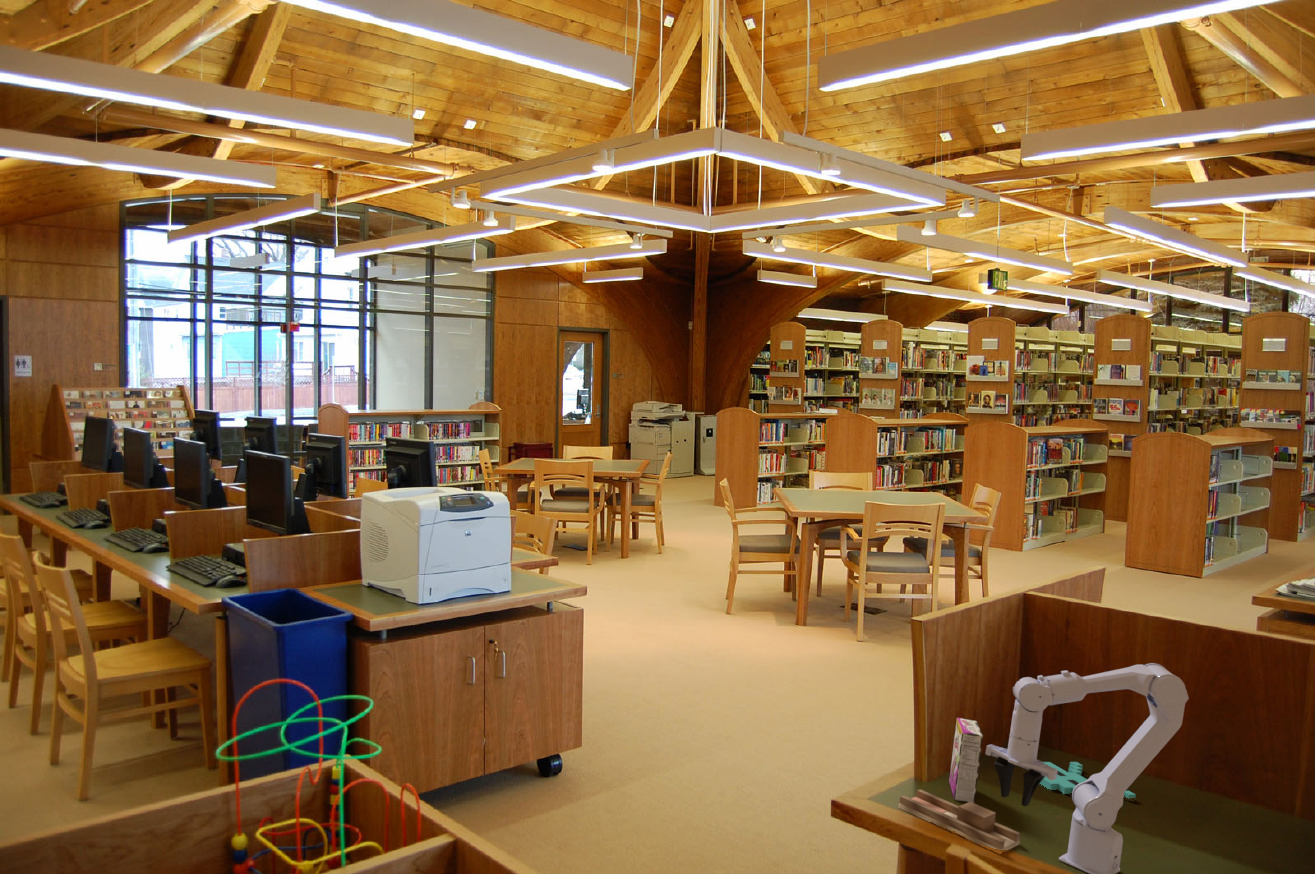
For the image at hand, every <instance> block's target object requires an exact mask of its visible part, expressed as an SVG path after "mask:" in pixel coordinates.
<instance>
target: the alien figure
mask: <svg viewBox="0 0 1315 874" xmlns="http://www.w3.org/2000/svg"><path fill="white" fill-rule="evenodd" d="M1042 762H1043V763H1045V764H1047V765H1048V766H1050V767H1052V768H1055V769H1057V770H1058V772H1057V779H1055V780H1050V779H1048V777H1045V778H1044V779H1043V780H1042V781H1041V782H1040V784H1041V785H1040V784H1039V785H1040V786H1042V785H1043V786H1044V788H1045V787H1046V788H1047V790H1048V789H1050V790H1056V789H1058V790H1059V791H1061V792H1062V793H1063V794H1062V793H1061V794H1062V795H1064V794H1069V793H1072V792H1073V789H1074V788H1075V786H1076V785H1078V784H1079V783H1082V782H1084V781H1086V780H1088V779H1087V778H1085V776H1082V775H1081V774H1082V773H1083V765H1084V764H1081V763H1079V762H1078V761H1070V762H1069V766H1068V771H1066V770H1064V769H1063V768H1061V767H1059V766H1057V765H1056V764H1054V763H1052V762H1050V761H1042ZM1043 786H1042V787H1043ZM1046 788H1045V789H1046ZM1050 790H1049V791H1050ZM1059 791H1058V792H1059ZM1069 795H1070V794H1069ZM1124 796H1125V797H1126V798H1128V799H1129V798H1130V799H1131V798H1135V799H1136V796H1137V795H1136V793H1134V792H1131V791H1130V790H1126V791H1125V792H1124Z"/></svg>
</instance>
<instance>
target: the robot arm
mask: <svg viewBox="0 0 1315 874" xmlns="http://www.w3.org/2000/svg"><path fill="white" fill-rule="evenodd" d="M1060 673H1061V674H1053V675H1047V676H1044V675H1042V674H1040V675H1037V678H1033V677H1031V676H1026V677H1022V678H1020V679H1019V680H1017V681H1016V683H1015V684H1014V686H1012V693H1013V696H1014V697H1015V700H1014V708H1013V711H1012V718H1011V721H1010V722H1011V724H1010V731H1009V737H1008V744H1007V748H1004V747H1000V746H997V745H995V744H993V743H991V744H988V745H986V748H985V755H986V756H988V757H989V756H990V757H991V756H992V757H994V758H996V761H994V765H993V766H994V768H995V771H996V773H997V775H998V776H997V777H998V780H999V784H1000V786H999V787H1000V797H1002V798H1007V797H1009V796H1010V792H1011V785H1012V778H1013V774H1014V770H1015V767H1016V766H1018V767H1020V768H1022V769H1024V770H1027V771H1026V772H1024V773H1023V774H1022V775H1023V791H1022V792H1023V793H1022V798H1021V806H1023V807H1027V806H1030V803H1031V800H1032V797H1033V796H1034V794H1035V792H1036V790H1037V788H1038V787H1039V785H1040V782H1041V781H1042V780H1043V779H1044V778H1045V777H1048V779H1050V780H1055V779H1057V772H1058V770H1057V769H1055V768H1052V767H1050V766H1048V765H1047V764H1045V763H1043V762H1044V761H1042V760H1039V759H1037V757H1038V750H1039V745H1040V744H1039V743H1040V735H1041V729H1042V723H1043V713H1044V710H1046V708H1047V707H1048V706H1056V705H1061V704H1062V705H1063V704H1067V703H1074V702H1080V701H1083V699H1084V698H1085V697H1086V695H1087V694H1091V693H1092V694H1095V693H1101V692H1112V691H1119V690H1120V691H1121V690H1131V691H1133V692H1135V693H1137V694H1140V695H1142V696H1144V697H1145V698H1146V701H1147V705H1148V709H1149V716H1148V717H1147V718H1146V720H1144V721H1143V723H1142V724H1141V725H1140V726H1139V728H1138V729H1137V730H1136V731H1135V732H1134V733H1133V735H1132V736H1131V737H1130V738H1129V739H1128V740H1127V741H1126V743H1125V744H1124V745H1123V746H1122V748H1121V749H1119V751H1118V752H1117V753H1116V755H1115V756H1114V757H1113V758H1112V759H1111V760H1110V761H1109V762H1108V763H1107V765H1106V766H1105V767H1104V768H1103V769H1102V771H1101V772H1100V771H1099V772H1098V773H1093V774H1092V775H1090V776H1089V778H1088V779H1087V780H1086V781H1084V782H1082V783H1079V784H1078V785H1076V786H1075V788H1074V789H1073V792H1072V795H1071V800H1072V802H1073V804H1074V805H1075V809H1074V811H1073V813H1072V818H1071V824H1070V831H1069V837H1068V838H1069V839H1068V847H1067V852H1066V853H1064V854H1062V855H1061V856H1059V857H1058V861H1060V862H1062V863H1065V864H1067V865H1070V866H1071V867H1074V868H1077V869H1078V870H1080V871H1083V872H1085V873H1088V874H1117V873H1119V872H1121V868H1120V866H1121V859H1122V853H1123V852H1122V851H1123V845H1124V844H1123V843H1124V838H1123V835H1122V833H1120V832H1118V831H1116V830H1115V829H1113V828H1112V826H1113V824H1115V822H1116V819H1117V815H1118V812H1119V810H1120V809H1121V808H1122V807H1123V805H1124V799H1123V798H1124V792H1125V791H1128V789H1129V787H1130V786H1131V785H1132V784H1133V783H1134V782H1135V780H1137V778H1138V777H1139V775H1140V774H1142V773H1143V772H1144V770H1145V768H1147V766H1149V765H1150V763H1151V762H1152V761H1153V759H1154V758H1156V756H1157V755H1158V754H1159V753H1160V751H1161V750H1162V749H1163V748H1164V747H1165V746H1166V745H1167V744H1168V742H1169V741H1170V740H1171V739H1172V738H1173V737H1174V735H1175V734H1176V733H1177V732H1178V731H1179V730H1180V728H1181V726H1183V719H1184V713H1185V706H1186V703H1187V702H1188V700H1189V695H1188V691H1187V689H1186V685H1185V683H1184V682H1183V680H1182V679H1181V678H1180V677H1179V676H1176V675H1175V674H1173V673H1171V672H1170V671H1169V670H1168V669H1167V668H1165V666H1164V665H1161V664H1159V663H1154V662H1151V663H1146V664H1134V665H1131V666H1128V667H1123V668H1119V669H1113V670H1109V671H1104V672H1100V673H1094V674H1090V675H1085V676H1080V675H1079V674H1077V673H1076V672H1070V671H1068V670H1061V671H1060Z"/></svg>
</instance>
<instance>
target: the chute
mask: <svg viewBox="0 0 1315 874" xmlns="http://www.w3.org/2000/svg"><path fill="white" fill-rule="evenodd" d="M959 806H960V805H957V804H954V803H953V802H950V801H948V800H945V799H944V798H941V797H938V796H937V795H934V794H932V793H929V792H927V791H926V790H923V789H917V790H916V796H914V797H908V796H907V795H901V796H899V802H898V809H900V810H901V811H905V812H906V813H909V814H911V815H913V816H915V817H917V818H919V819H922V820H924V821H926V822H929V823H930V822H933V823H934V824H936V825H938V826H937V827H939V826H942V827H945V828H946V829H948V830H951V831H955V832H956V833H958V834H960V835H962V836H965V837H966V838H967V839H969V840H972V841H973V842H975V843H978V844H981V845H984V846H987V847H990V848H993V849H998V850H1007V851H1009V850H1011V849H1013V848H1015V847H1017V846H1019V845H1020V843H1021V839H1020V837H1021V833H1020V832H1019V831H1016V830H1014V829H1012V828H1010V827H1008V826H1006V825H1002V824H1000V823H998V822H996V821H995V823H994V830H993V831H992V832H990V833H986V832H984V831H982V830H980V829H977V828H975V827H973V826H971V825H968V824H966V823H964V822H962V821H960V820H957V814H958V807H959ZM934 824H933V825H934ZM936 825H935V826H936ZM967 839H966V840H967ZM969 840H968V841H969ZM973 842H972V843H973ZM975 843H974V844H975Z"/></svg>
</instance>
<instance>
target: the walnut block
mask: <svg viewBox="0 0 1315 874" xmlns="http://www.w3.org/2000/svg"><path fill="white" fill-rule="evenodd" d="M958 806H959V807H958V814H957V820H960V821H962V822H964V823H966V824H968V825H971V826H973V827H975V828H977V829H980V830H982V831H984V832H986V833H990V832H992V831H993V830H994V823H995V822H996V813H997V812H995V811H992V810H990V809H988V808H986V807H983V806H981V805H979V804H978V803H972V802H968V803H967V802H965V803H964V804H961V805H958Z"/></svg>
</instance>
